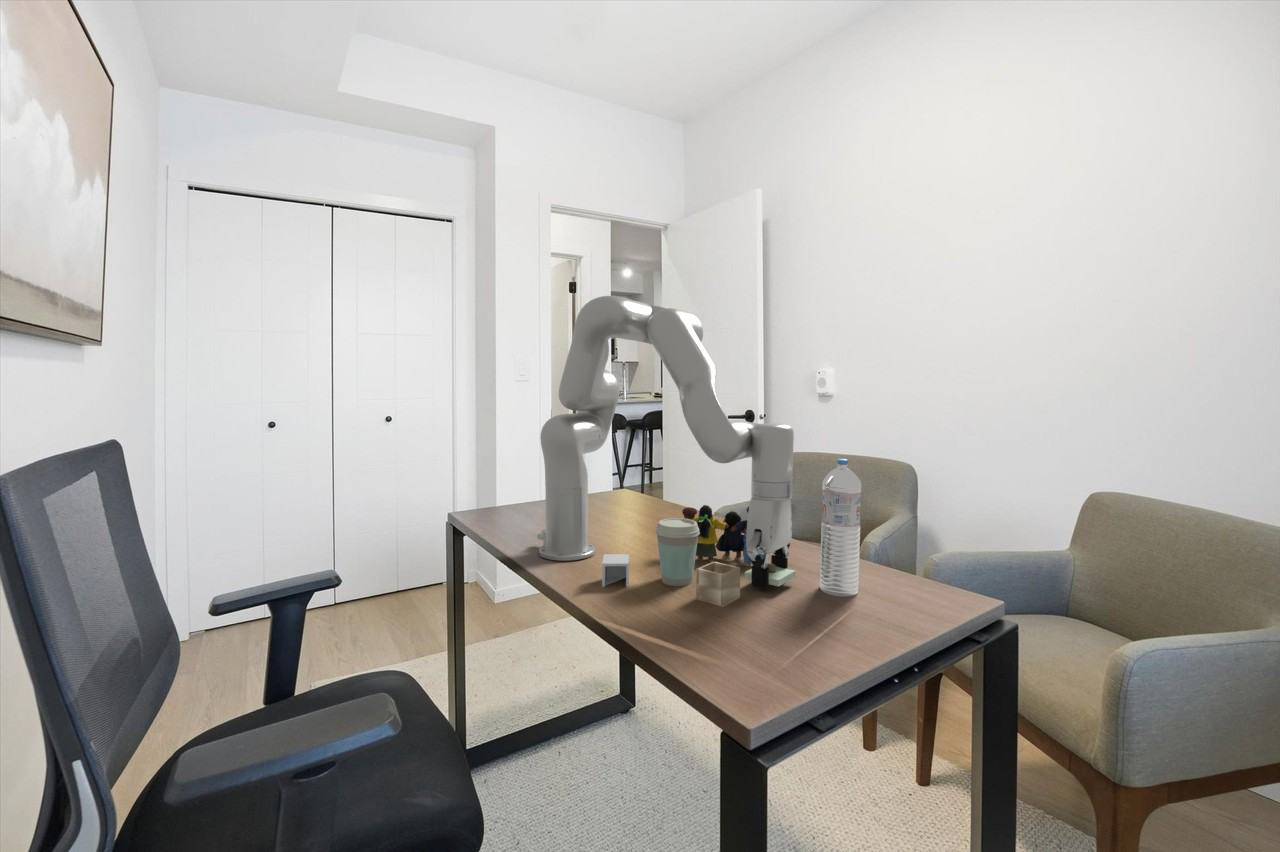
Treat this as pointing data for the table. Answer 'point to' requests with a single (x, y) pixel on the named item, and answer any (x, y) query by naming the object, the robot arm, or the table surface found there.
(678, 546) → the coffee cup
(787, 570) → the lid
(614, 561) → the white cuboid
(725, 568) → the box
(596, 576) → the table surface
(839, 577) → the water bottle
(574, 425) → the robot arm
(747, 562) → the doll family
